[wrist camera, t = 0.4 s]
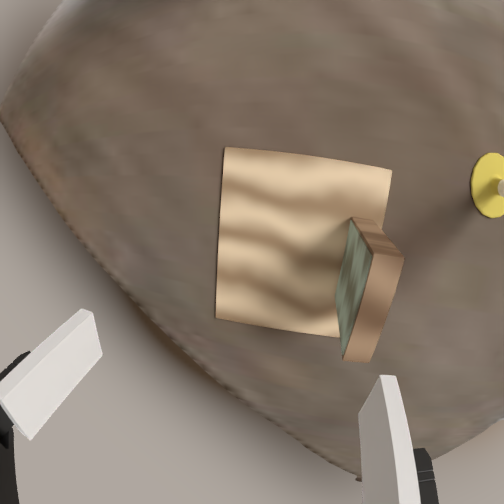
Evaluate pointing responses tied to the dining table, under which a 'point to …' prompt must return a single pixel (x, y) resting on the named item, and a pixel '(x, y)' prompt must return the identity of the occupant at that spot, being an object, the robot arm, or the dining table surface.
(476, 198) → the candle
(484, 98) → the dining table surface
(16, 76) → the dining table surface
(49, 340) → the robot arm
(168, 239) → the dining table surface
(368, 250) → the panel
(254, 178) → the light wooden board
